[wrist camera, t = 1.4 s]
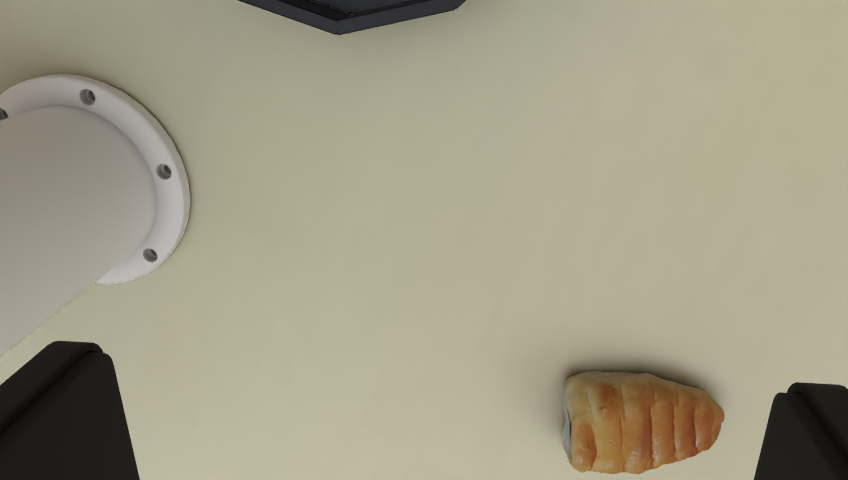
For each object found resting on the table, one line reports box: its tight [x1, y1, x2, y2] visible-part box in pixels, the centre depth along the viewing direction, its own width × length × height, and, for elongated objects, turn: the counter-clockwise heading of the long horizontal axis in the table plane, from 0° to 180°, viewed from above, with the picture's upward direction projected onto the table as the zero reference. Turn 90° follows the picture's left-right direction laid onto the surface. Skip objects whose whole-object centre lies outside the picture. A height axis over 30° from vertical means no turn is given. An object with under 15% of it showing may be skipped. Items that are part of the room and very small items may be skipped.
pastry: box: [562, 371, 724, 474], centre depth 39 cm, size 9×7×4 cm
